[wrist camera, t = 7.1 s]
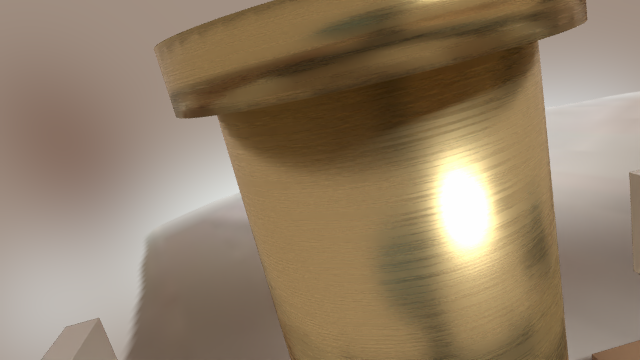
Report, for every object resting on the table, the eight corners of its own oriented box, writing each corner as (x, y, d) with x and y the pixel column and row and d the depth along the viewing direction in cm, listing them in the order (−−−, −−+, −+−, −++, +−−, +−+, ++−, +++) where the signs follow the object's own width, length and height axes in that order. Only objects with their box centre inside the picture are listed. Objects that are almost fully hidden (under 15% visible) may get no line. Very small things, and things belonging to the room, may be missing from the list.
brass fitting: (522, 448, 14) (459, -11, 10) (716, 739, 8) (734, -115, 4) (330, 505, 14) (192, 54, 10) (379, 853, 8) (76, 42, 4)
